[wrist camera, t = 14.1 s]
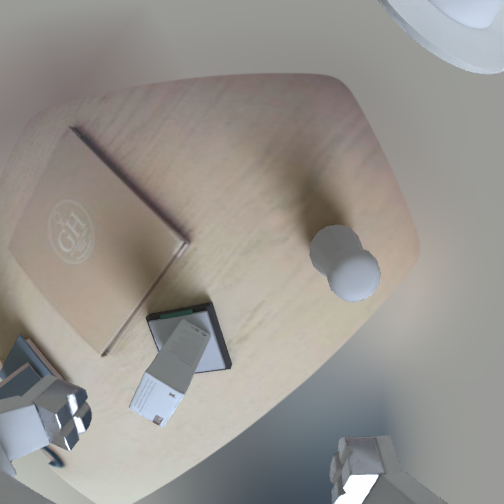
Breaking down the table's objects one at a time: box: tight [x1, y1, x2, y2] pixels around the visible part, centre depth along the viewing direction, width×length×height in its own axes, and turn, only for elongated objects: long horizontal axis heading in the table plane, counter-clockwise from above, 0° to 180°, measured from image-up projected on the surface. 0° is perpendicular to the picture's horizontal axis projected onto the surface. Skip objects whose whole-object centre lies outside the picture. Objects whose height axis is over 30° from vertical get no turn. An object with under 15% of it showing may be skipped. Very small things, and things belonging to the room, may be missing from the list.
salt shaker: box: [310, 225, 381, 302], centre depth 29 cm, size 6×6×13 cm
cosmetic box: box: [129, 319, 211, 427], centre depth 32 cm, size 6×4×12 cm
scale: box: [146, 302, 232, 374], centre depth 39 cm, size 9×9×2 cm
